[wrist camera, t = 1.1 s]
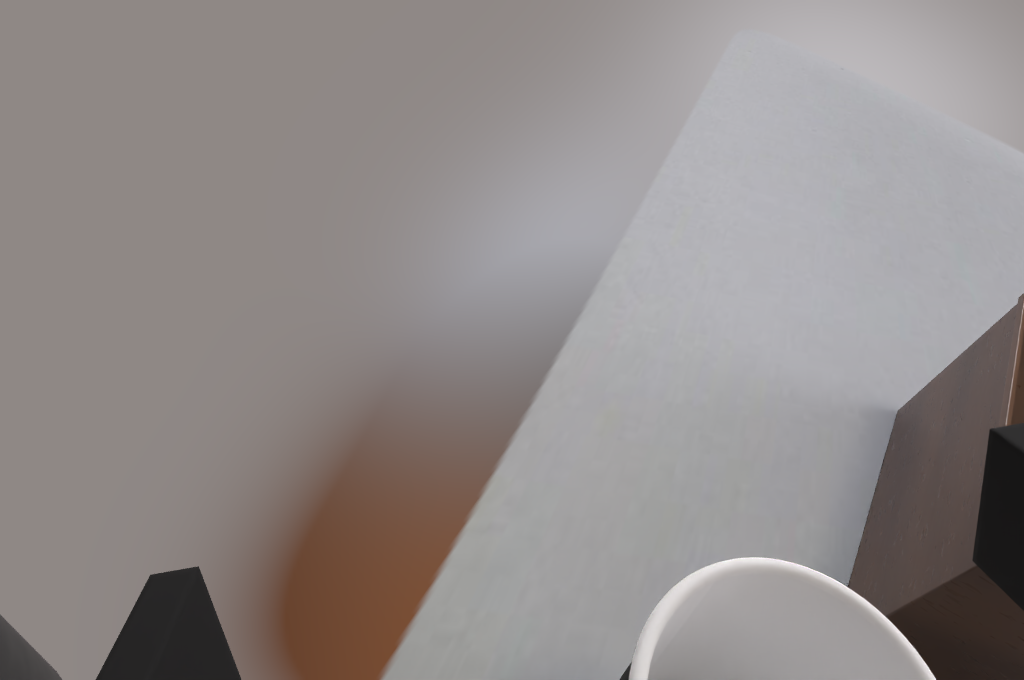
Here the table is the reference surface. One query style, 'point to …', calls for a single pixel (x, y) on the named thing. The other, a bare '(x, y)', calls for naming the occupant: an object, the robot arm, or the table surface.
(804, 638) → the dixie cup
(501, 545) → the table surface
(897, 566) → the brown box
